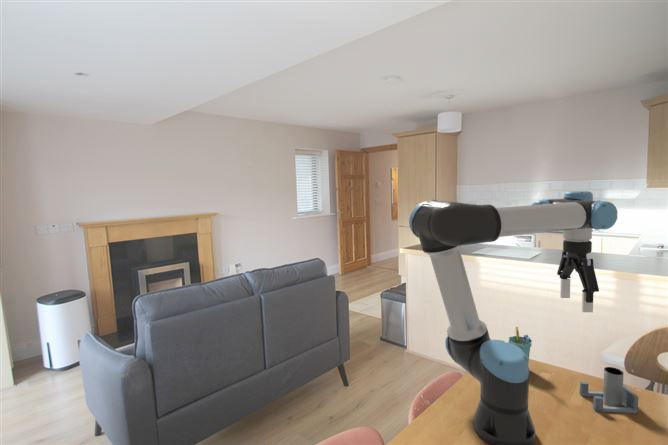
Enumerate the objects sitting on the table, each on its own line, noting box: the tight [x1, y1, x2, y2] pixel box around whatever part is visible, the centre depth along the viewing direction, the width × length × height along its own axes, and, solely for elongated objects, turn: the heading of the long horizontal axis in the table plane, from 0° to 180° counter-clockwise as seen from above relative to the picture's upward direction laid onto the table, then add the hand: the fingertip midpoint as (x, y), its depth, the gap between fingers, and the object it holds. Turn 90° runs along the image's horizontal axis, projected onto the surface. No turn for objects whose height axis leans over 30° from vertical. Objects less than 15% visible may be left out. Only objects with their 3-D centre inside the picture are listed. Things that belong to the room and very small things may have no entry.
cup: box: [508, 326, 533, 364], centre depth 126 cm, size 14×8×15 cm, turn 176°
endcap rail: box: [579, 381, 639, 414], centre depth 106 cm, size 11×8×5 cm
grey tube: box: [602, 366, 624, 407], centre depth 105 cm, size 4×4×10 cm
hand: (575, 304), depth 115 cm, fingers open, 13 cm apart
